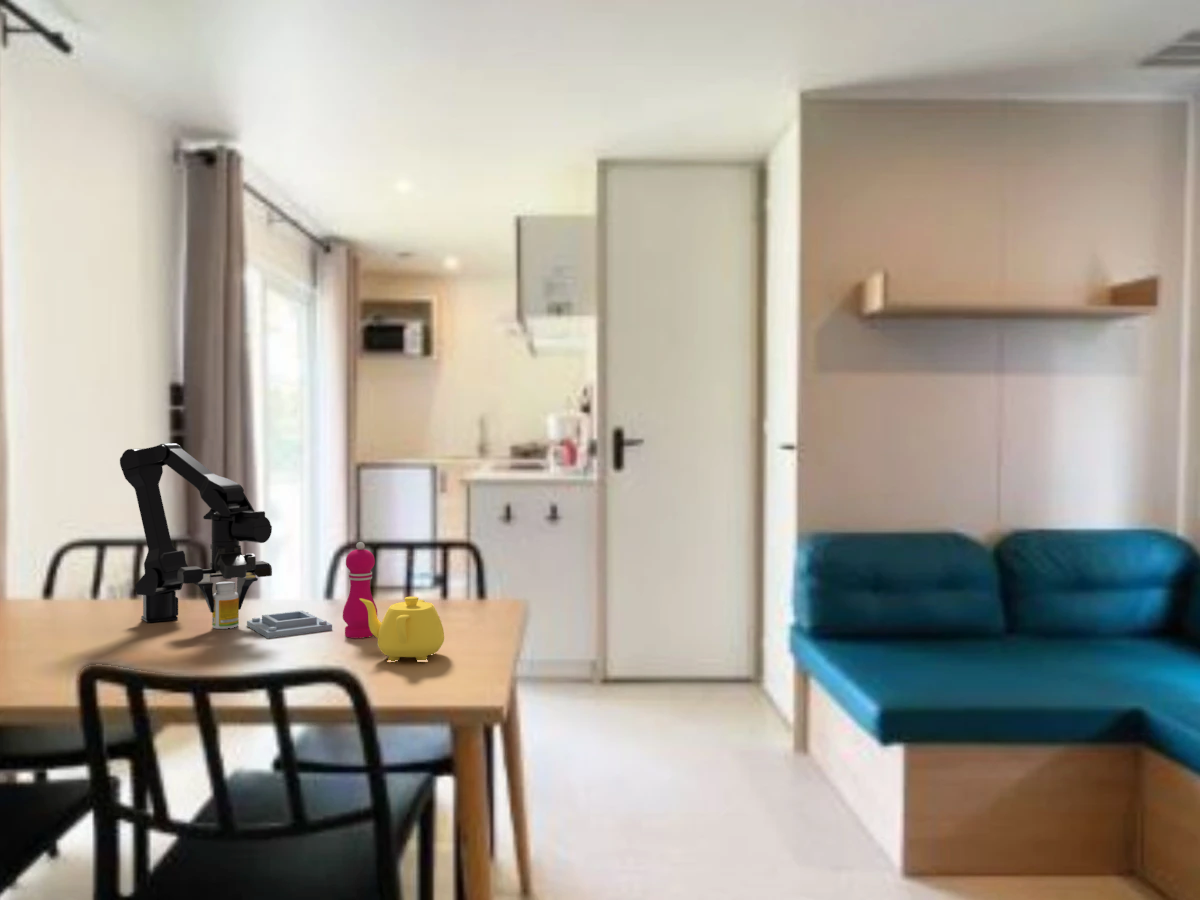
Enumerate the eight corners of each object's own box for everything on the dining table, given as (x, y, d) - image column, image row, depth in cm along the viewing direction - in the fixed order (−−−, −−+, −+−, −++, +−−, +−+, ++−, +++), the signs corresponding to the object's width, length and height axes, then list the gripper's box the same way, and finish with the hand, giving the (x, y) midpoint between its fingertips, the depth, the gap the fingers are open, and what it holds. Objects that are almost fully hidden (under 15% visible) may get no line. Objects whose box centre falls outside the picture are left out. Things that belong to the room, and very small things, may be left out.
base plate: (267, 638, 199) (267, 625, 198) (246, 626, 210) (246, 614, 210) (332, 629, 207) (332, 618, 207) (308, 618, 218) (308, 607, 218)
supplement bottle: (243, 625, 210) (243, 581, 210) (227, 630, 205) (227, 585, 205) (224, 623, 212) (224, 580, 212) (206, 628, 207) (206, 584, 207)
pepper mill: (384, 633, 204) (384, 541, 204) (362, 640, 198) (363, 545, 197) (357, 630, 207) (357, 539, 207) (335, 636, 201) (335, 542, 200)
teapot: (418, 645, 195) (418, 587, 194) (460, 658, 184) (460, 597, 184) (358, 656, 185) (358, 595, 184) (398, 670, 175) (399, 607, 174)
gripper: (190, 547, 196) (190, 622, 197) (280, 541, 207) (280, 612, 208) (176, 541, 205) (176, 613, 205) (263, 536, 216) (263, 604, 217)
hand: (225, 610), depth 209 cm, fingers closed on supplement bottle, 5 cm apart
